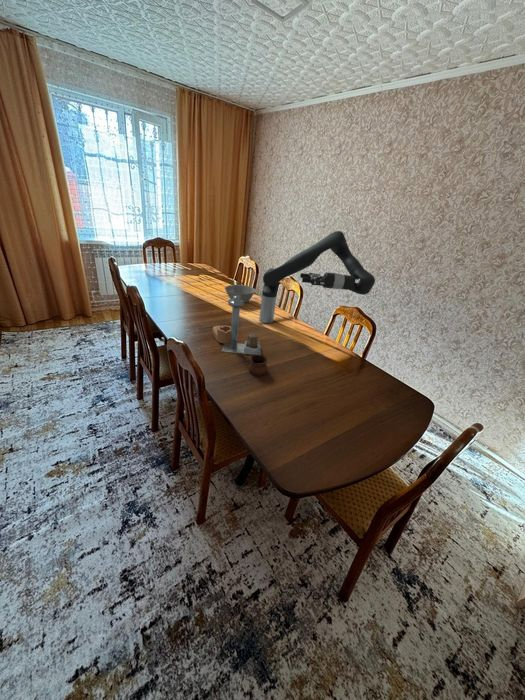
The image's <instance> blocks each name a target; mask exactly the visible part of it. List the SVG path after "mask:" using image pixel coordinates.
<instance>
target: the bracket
mask: <svg viewBox="0 0 525 700" xmlns="http://www.w3.org/2000/svg"><path fill="white" fill-rule="evenodd" d="M212 335H213V336H214V338H215V339H216V341H217V342H218V343H221V344H224V343H230V340H231V326H230V325H215V326H213V327H212Z"/></svg>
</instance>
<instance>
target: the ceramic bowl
mask: <svg viewBox="0 0 525 700" xmlns="http://www.w3.org/2000/svg"><path fill="white" fill-rule="evenodd" d="M224 290H225V292H226V294H227V296H228V298H229V300H230V299H233V296H240V297H241V298H240V300H243V301H244V302H245V304H246V303H249V301H250V300H251V299H252V297H253V296H254V294H255V292H256V289H255V287H251V286H249V285H243V284H231V285H226V286H224Z"/></svg>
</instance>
